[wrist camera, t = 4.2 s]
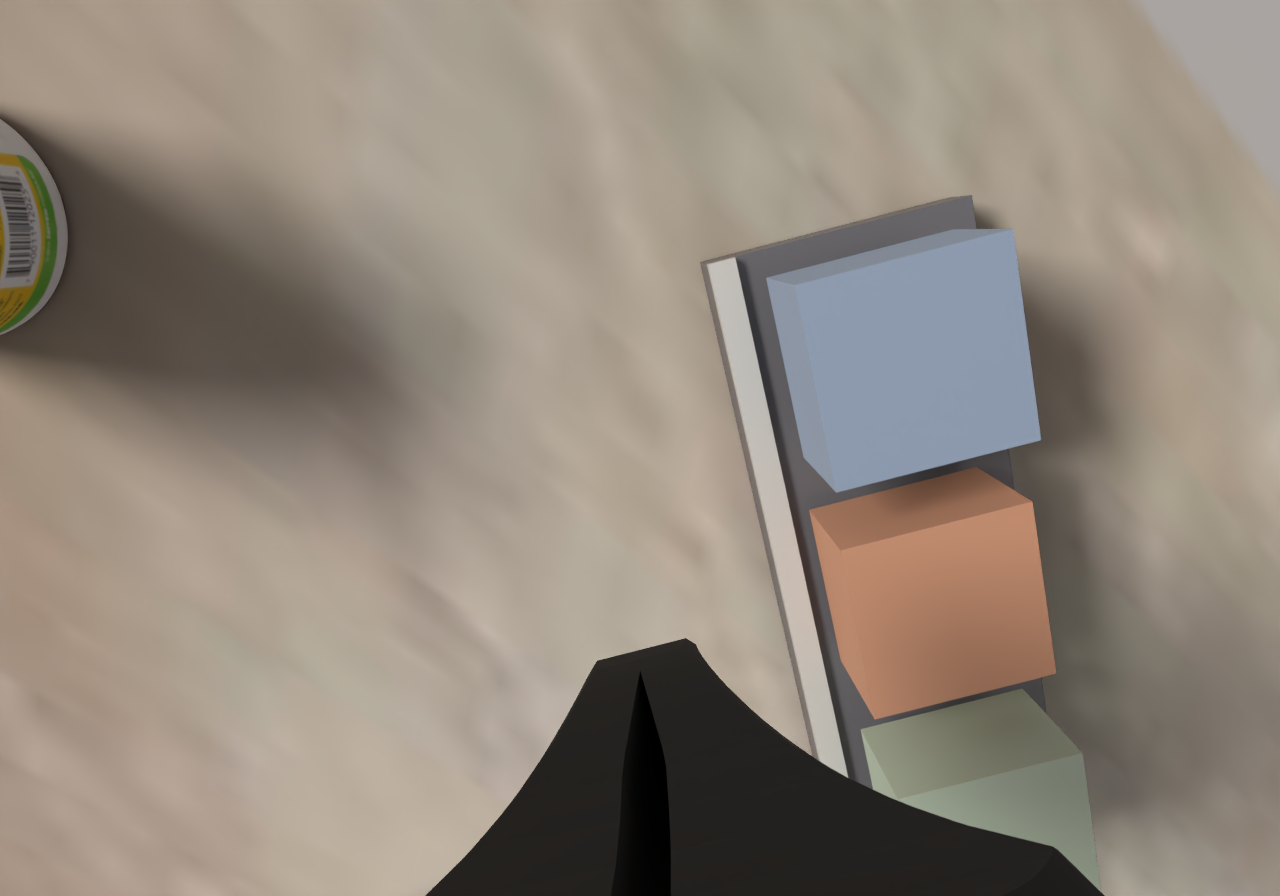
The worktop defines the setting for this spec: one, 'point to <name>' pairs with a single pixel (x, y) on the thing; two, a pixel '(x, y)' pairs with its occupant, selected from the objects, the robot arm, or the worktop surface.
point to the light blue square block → (907, 356)
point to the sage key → (990, 772)
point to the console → (795, 485)
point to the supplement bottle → (27, 231)
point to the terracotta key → (935, 590)
